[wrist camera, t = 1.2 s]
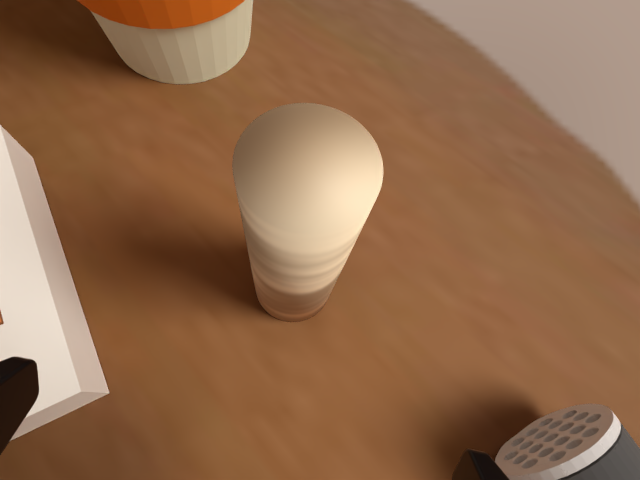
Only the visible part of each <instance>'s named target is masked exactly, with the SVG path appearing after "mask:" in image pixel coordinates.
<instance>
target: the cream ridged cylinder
mask: <svg viewBox="0 0 640 480" xmlns="http://www.w3.org/2000/svg"><path fill="white" fill-rule="evenodd" d="M232 167H233V176H234V181H235V186H236V192H237V197H238V202H239V207H240V212H241V218H242V223H243V228H244V233H245V238H246V244H247V249H248V254H249V259H250V264H251V269H252V275H253V280H254V285H255V290H256V295H257V298H258V300H259V302H260V304H261V306H262V307H263V308H264V309H265V310H266V311H267V312H268V313H269V314H270V315H271V316H273V317H275V318H277V319H279V320H282V321H287V322H299V321H303V320H306V319H309V318H311V317H312V316H314V315H315V314H317V313H318V312H319V311H320V310H321V309H322V308H323V306H324V305H325V303H326V301H327V299H328V297H329V295H330V293H331V291H332V289H333V287H334V285H335V283H336V281H337V279H338V277H339V275H340V273H341V271H342V268H343V266H344V264H345V262H346V260H347V258H348V256H349V254H350V252H351V250H352V248H353V246H354V244H355V242H356V240H357V238H358V236H359V233H360V231H361V229H362V227H363V225H364V223H365V221H366V219H367V217H368V215H369V213H370V211H371V209H372V207H373V205H374V203H375V200H376V198H377V196H378V194H379V191H380V189H381V185H382V180H383V162H382V158H381V154H380V151H379V149H378V146H377V144H376V143H375V141H374V139H373V138H372V136H371V135H370V133H369V132H368V131H367V130H366V129H365V128H364V127H363V126H362V125H361V124H360V123H359V122H358V121H356V120H355V119H354V118H352V117H351V116H349V115H348V114H346V113H344V112H342V111H340V110H337V109H335V108H332V107H329V106H325V105H321V104H314V103H294V104H288V105H284V106H280V107H277V108H274V109H272V110H269V111H267V112H266V113H264V114H262V115H260V116H259V117H258V118H256V119H255V120H254V121H253V122H252V123H251V124H250V125H249V126H248V127H247V128H246V129H245V130H244V132H243V133H242V135H241V136H240V138H239V140H238V142H237V144H236V147H235V150H234V155H233V164H232Z"/></svg>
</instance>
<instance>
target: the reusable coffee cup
mask: <svg viewBox="0 0 640 480" xmlns="http://www.w3.org/2000/svg"><path fill="white" fill-rule="evenodd" d="M77 1H78V2H80V3H81V4H82V5H84V6H85V7H86V8H88V9H89V10H90V11H91V12H92V14H93V15H94V17H95V19H96V20H97V22H98V23H99V25H100V26H101V28H102V29H103V31H104V33H105V34H106V36H107V37H108V39H109V40H110V42H111V43H112V45H113V47H114V48H115V50H116V51H117V53H118V54H119V56H120V57H121V58H122V60H123V61H124V62H125V63H126V64H127V65H128V66H129V67H130V68H132V69H133V70H134V71H136V72H137V73H139V74H141V75H143V76H145V77H147V78H149V79H152V80H156V81H159V82H163V83H171V84H192V83H198V82H203V81H207V80H209V79H212V78H215V77H218V76H219V75H221V74H223V73H225V72H227V71H228V70H230V69H231V68H232V67H233V66H235V65H236V64H237V63H238V62H239V60H240V59H241V58H242V57H243V55H244V54H245V52H246V49H247V47H248V45H249V40H250V32H251V19H252V6H253V0H77Z"/></svg>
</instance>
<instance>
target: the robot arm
mask: <svg viewBox="0 0 640 480" xmlns="http://www.w3.org/2000/svg"><path fill="white" fill-rule="evenodd" d="M38 395H39V381H38V370H37V363H36V362H35V361H34V360H32V359H28V358H23V357H18V356H14V357H10V358H7V359H5V360H2V361H0V455H1V453H2V452H3V450H4V449H5V447H6V446H7V444H8V443H9V441H10V440H11V438H12V437H13V435H14V434H15V432H16V431H17V429H18V428H19V426H20V425H21V423H22V422H23V420H24V419H25V417H26V416H27V414H28V413H29V411H30V410H31V408H32V407H33V405H34V403H35V402H36V400H37V398H38ZM452 480H510V479H509V478H508V477H507V476H506V474H505V473H504V472H503V471H502V470H501V469H500V467H499V466H498V465H497V464H496V463H495V461H494V460H493V459H492V458H491V457H490V456H489V454H487V453H486V452H484V451H479V450H474V449H466V450H465V451H464V452H463V454H462V456H461V458H460V460H459V462H458V464H457V466H456V469H455V471H454V473H453V476H452Z"/></svg>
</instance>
